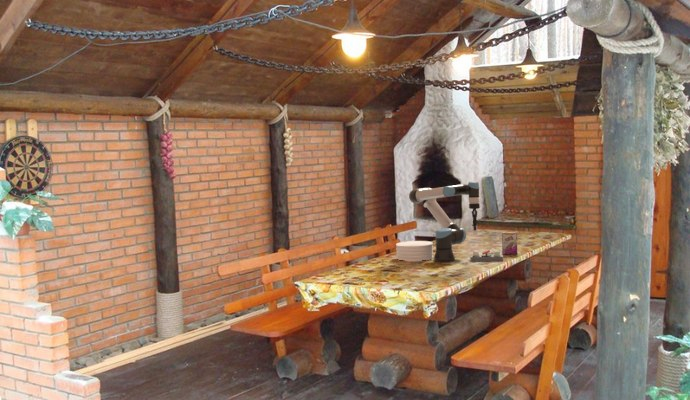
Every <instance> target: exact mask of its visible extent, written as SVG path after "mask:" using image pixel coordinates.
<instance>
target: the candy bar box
mask: <svg viewBox="0 0 690 400" xmlns="http://www.w3.org/2000/svg"><path fill="white" fill-rule="evenodd" d="M501 247H502V248H501V249H502V251H501V253H502V254H501V255H517V254H518V232H517V231H502V233H501Z"/></svg>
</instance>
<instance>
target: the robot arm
mask: <svg viewBox="0 0 690 400" xmlns="http://www.w3.org/2000/svg"><path fill="white" fill-rule="evenodd" d="M408 195H409V196H408V198H409V201H410V202H411V203H412V204H417V205H418V204H421V205H422V207H424V208H427V210H428V211H429V212H430V213H431V215H432V217H433V218H434V219H435V220H436V221H437V223H438V224H439V225H440V226H441V228H438V229H436V231H435V236H434V237H435V253H434V255H433V261H434V262H437V263H450V262H455V261H456V257H455V254H454V251H453V246H454V245H459V244H462V243H463V242H465V240H466V238H467V237H466V236H467V233H466V230H465V228H463V227H460V226H458V224H457V223H455V222H453V221H452V220H451V218H449V216H448V215H447V213H446V212H445V210H444V209H443V208H442V207H441V206H440V204H439V203H438V202H437V199H442V198H448V197H455V196H465V195H468V208H469V209H470V210H471V216H472V225H471V227H472V233H473V234H472V235H473V236H477V235H478V225H479V224H478V220H477V218H478V209H480V207H481V206H480V204H481V203H480V200H481V198H480V184H479V182H478V181H469V182H468V184H462V183H458V184H456V185H447V186H442V187H440V186H439V187H434V188H431V187H427V186H426V187H419V188H414V189H412V190H411V191H410V192H409V193H408Z"/></svg>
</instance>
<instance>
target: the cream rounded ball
mask: <svg viewBox="0 0 690 400" xmlns="http://www.w3.org/2000/svg"><path fill="white" fill-rule="evenodd" d="M472 252H473V253H472V254H473V257H479V255H480V254H479V253H480V252H479V250H474V251H472Z"/></svg>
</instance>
